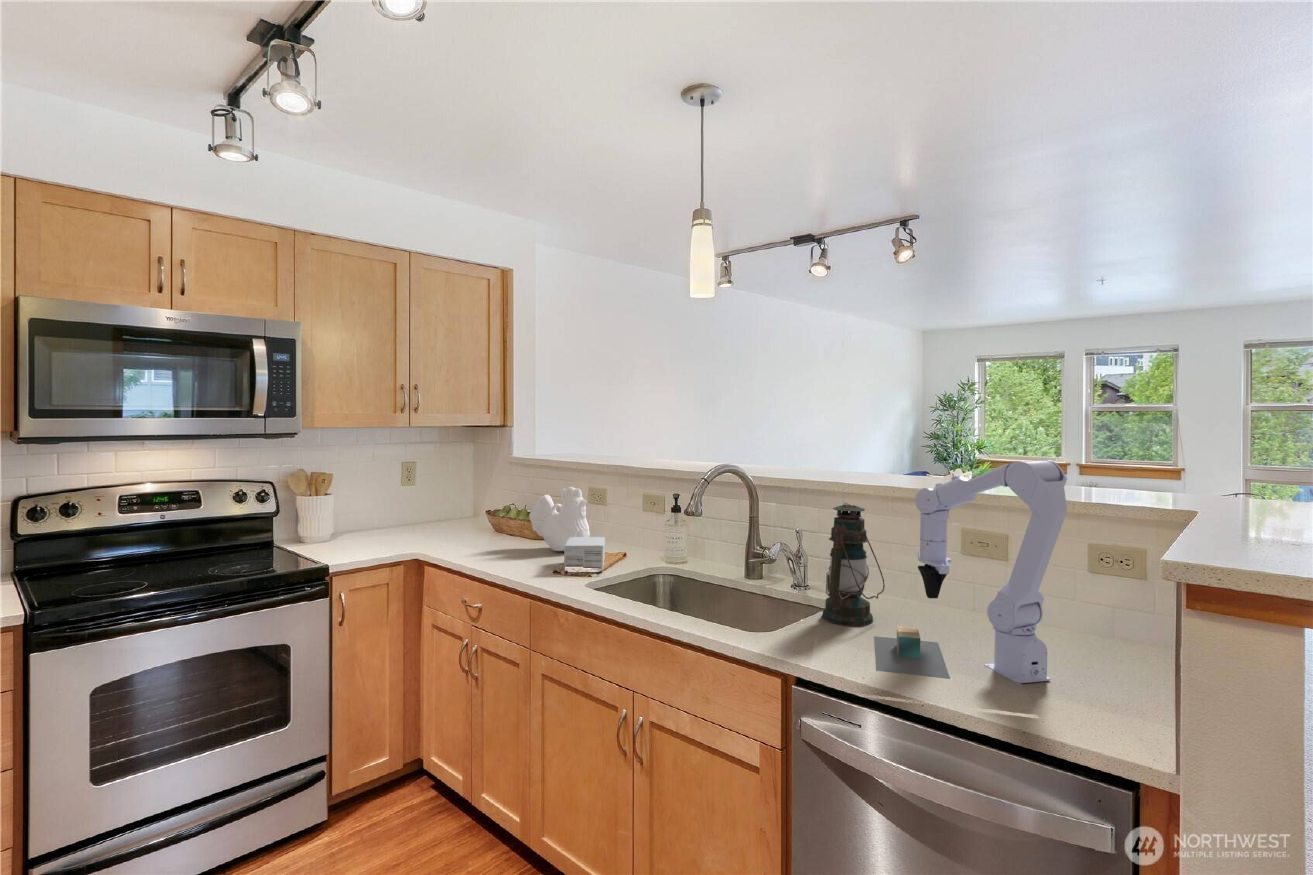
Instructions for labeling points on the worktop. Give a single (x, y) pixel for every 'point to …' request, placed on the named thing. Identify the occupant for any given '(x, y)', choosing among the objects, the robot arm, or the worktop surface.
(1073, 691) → the worktop surface
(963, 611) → the worktop surface
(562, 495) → the decorative rooster
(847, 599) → the lantern
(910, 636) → the oak block
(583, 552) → the supplement box
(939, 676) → the mat
